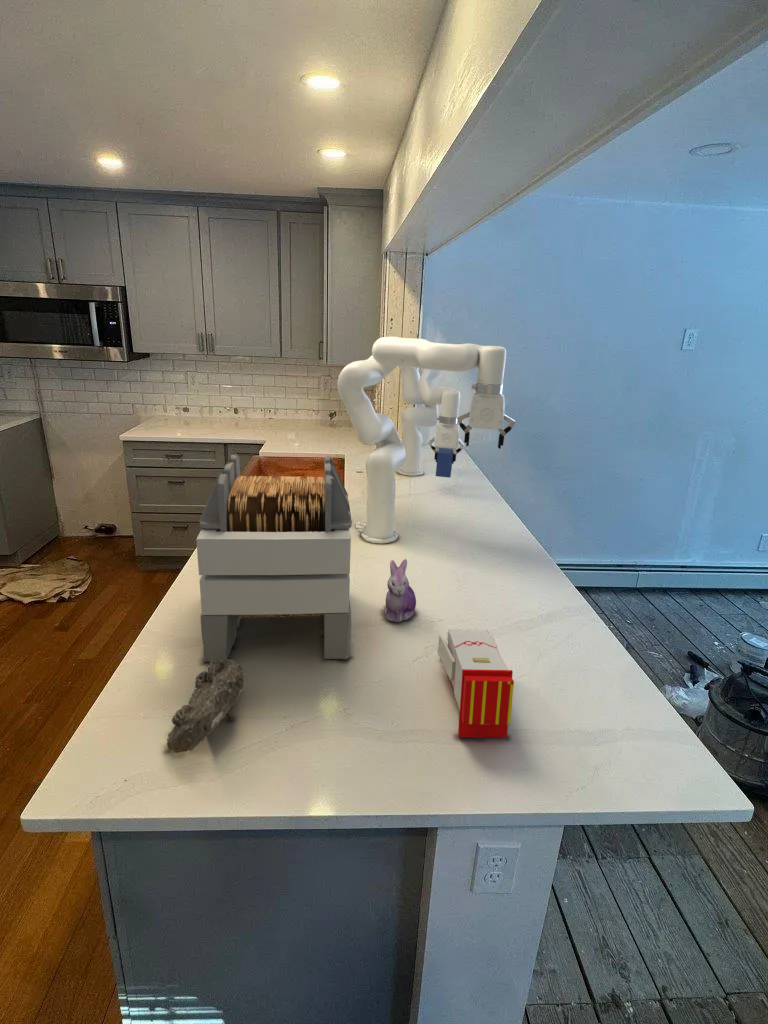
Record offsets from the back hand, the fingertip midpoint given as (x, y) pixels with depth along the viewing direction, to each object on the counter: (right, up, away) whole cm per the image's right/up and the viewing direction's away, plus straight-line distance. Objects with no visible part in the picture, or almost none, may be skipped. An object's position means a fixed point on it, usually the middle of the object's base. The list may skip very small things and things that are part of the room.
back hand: (444, 461), depth 240 cm
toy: (-8, -59, -121) cm, 135 cm away
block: (0, -5, +2) cm, 5 cm away
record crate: (-51, -49, -99) cm, 122 cm away
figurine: (-22, -48, -93) cm, 106 cm away
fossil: (-58, -60, -132) cm, 156 cm away
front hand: (+4, -1, -68) cm, 68 cm away
